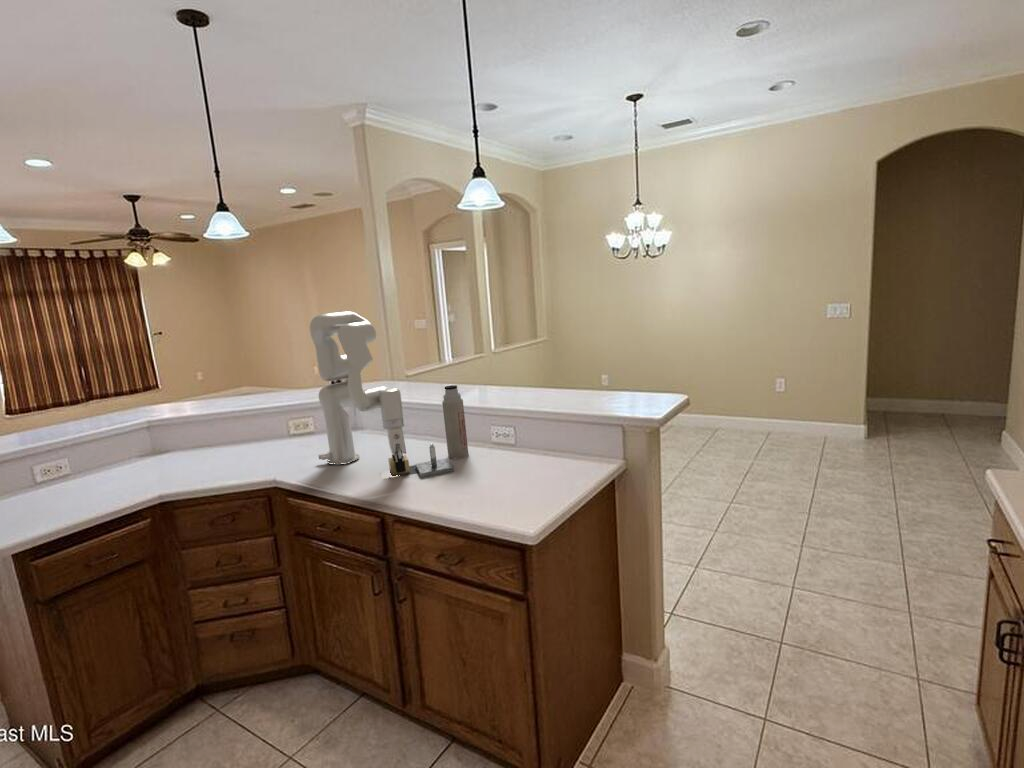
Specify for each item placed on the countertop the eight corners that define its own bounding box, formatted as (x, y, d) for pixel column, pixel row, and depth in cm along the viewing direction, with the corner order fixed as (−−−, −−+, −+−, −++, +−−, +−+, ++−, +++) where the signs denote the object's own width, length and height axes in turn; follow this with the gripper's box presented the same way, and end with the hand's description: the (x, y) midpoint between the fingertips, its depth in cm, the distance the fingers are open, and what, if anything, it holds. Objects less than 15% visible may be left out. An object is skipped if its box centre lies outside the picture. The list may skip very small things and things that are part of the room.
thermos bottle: (472, 453, 210) (465, 384, 205) (458, 459, 204) (451, 388, 199) (457, 451, 215) (450, 383, 210) (444, 457, 209) (436, 387, 204)
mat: (381, 480, 188) (381, 480, 187) (379, 472, 197) (379, 471, 197) (421, 473, 192) (421, 472, 192) (416, 465, 201) (416, 464, 201)
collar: (391, 476, 190) (390, 463, 189) (389, 471, 196) (388, 458, 195) (410, 473, 192) (408, 459, 191) (407, 467, 198) (405, 455, 197)
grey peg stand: (421, 478, 186) (417, 451, 184) (415, 469, 197) (412, 443, 195) (454, 472, 190) (451, 445, 188) (447, 463, 201) (444, 437, 199)
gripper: (407, 426, 184) (413, 473, 187) (400, 416, 200) (406, 459, 203) (385, 429, 182) (391, 477, 185) (380, 419, 198) (386, 463, 201)
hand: (399, 468), depth 194 cm, fingers open, 9 cm apart
